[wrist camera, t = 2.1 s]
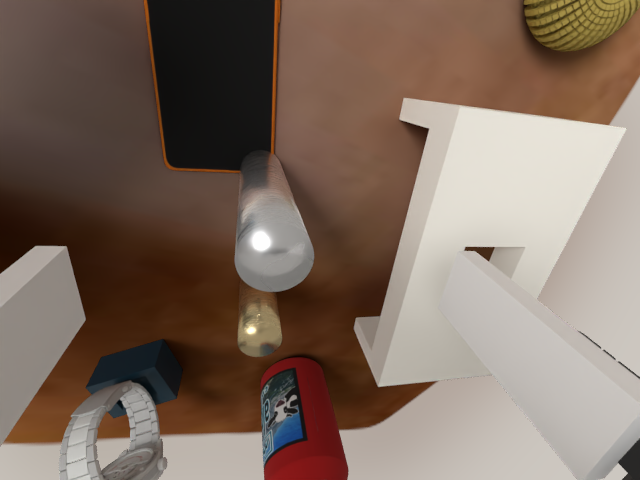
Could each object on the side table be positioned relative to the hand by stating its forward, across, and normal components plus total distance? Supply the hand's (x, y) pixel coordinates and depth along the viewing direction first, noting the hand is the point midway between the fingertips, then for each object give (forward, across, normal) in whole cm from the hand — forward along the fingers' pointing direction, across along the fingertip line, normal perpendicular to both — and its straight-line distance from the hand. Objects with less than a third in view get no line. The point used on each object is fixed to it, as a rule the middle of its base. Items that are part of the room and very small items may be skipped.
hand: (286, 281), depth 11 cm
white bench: (+14, +16, -5) cm, 22 cm away
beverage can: (+15, +4, -22) cm, 26 cm away
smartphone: (+15, -4, +8) cm, 17 cm away
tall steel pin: (+14, 0, 0) cm, 14 cm away
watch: (+14, -10, -19) cm, 26 cm away
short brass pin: (+14, 0, -10) cm, 17 cm away
